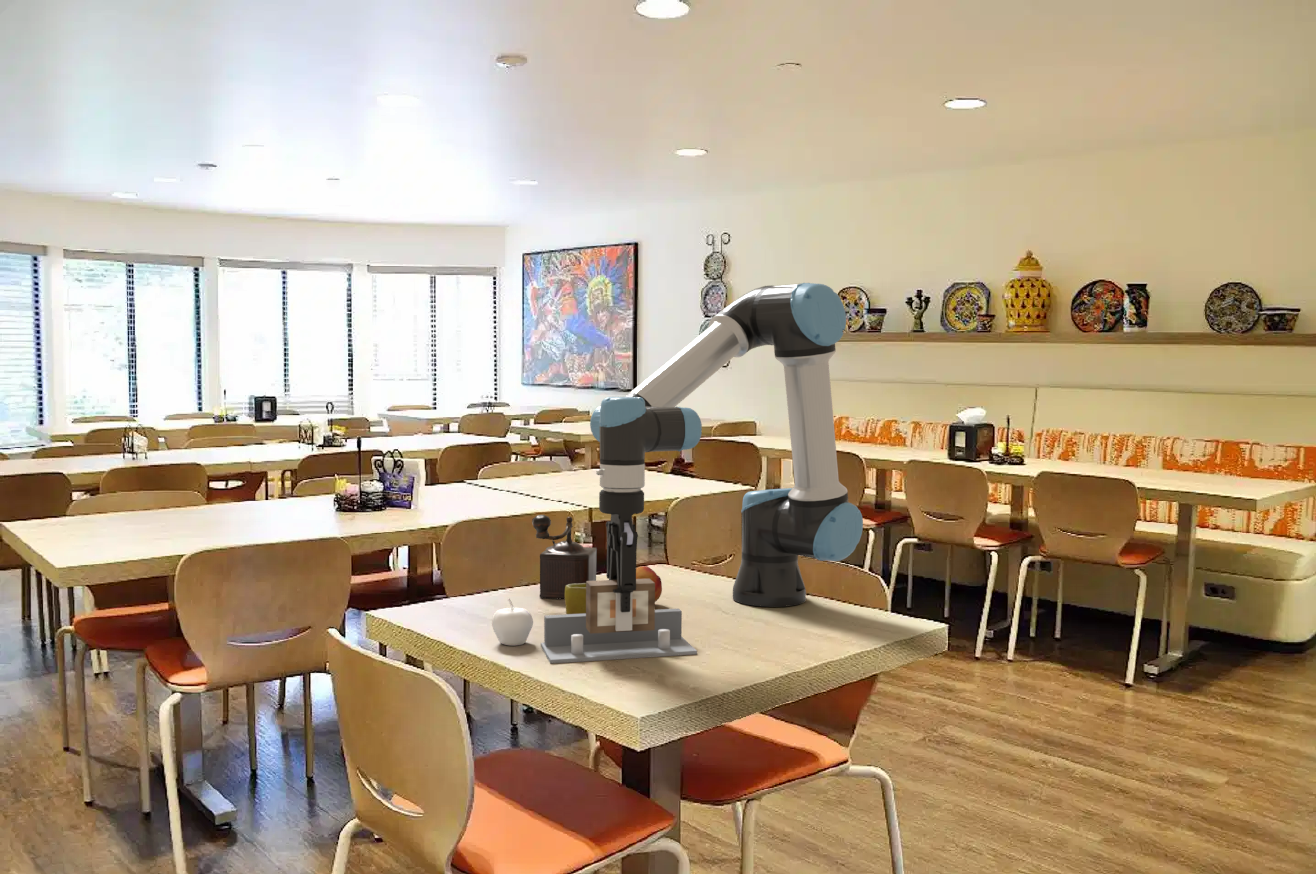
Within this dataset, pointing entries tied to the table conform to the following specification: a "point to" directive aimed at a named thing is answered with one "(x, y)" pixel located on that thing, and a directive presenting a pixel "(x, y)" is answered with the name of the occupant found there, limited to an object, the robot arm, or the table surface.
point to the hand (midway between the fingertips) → (620, 626)
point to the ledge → (618, 651)
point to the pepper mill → (562, 561)
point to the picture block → (604, 606)
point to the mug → (575, 598)
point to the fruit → (648, 573)
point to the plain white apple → (512, 625)
